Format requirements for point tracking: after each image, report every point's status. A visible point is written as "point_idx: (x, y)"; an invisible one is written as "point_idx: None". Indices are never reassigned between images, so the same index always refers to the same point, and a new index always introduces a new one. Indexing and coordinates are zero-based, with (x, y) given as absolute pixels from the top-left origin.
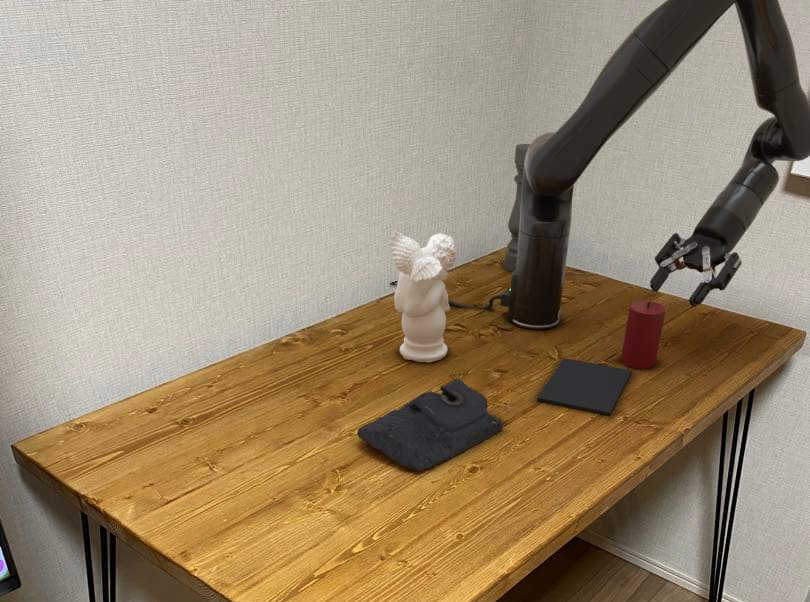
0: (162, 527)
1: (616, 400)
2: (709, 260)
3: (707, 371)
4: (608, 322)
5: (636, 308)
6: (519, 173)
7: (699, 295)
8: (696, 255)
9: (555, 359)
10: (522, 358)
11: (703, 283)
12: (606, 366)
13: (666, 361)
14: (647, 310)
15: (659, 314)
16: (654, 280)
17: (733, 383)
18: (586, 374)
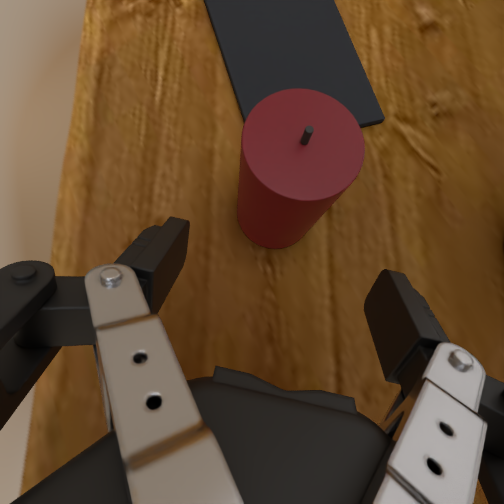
0: None
1: (215, 28)
2: (112, 382)
3: None
4: None
5: (327, 109)
6: None
7: (147, 238)
8: (291, 466)
9: (397, 120)
10: (440, 88)
11: (135, 265)
12: None
13: (226, 256)
14: (291, 116)
15: (246, 120)
16: (403, 284)
17: (57, 249)
18: (311, 82)
